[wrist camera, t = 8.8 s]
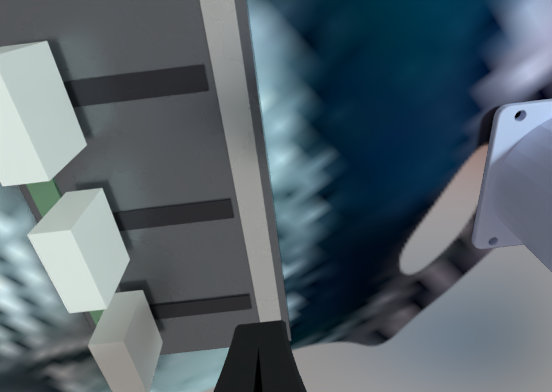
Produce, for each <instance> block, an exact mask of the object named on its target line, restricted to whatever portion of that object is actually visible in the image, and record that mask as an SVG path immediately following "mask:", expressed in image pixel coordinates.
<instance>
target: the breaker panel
mask: <svg viewBox="0 0 552 392" xmlns="http://www.w3.org/2000/svg"><path fill="white" fill-rule="evenodd" d="M42 41H47V42H48V45H49V47H50V50H51V52H52V55H53V58H54V60H55V63H56V65H57V68H58V71H59V73H60V76H61V79H62V81H63V84H64V86H65V89H66V92H67V94H68V97H69V99H70V102H71V105H72V107H73V110H74V112H75V115H76V118H77V120H78V123H79V125H80V128H81V131H82V133H83V136H84V138H85V141H86V144H87V146H86V147H85V148H83V149H82V150H81V151H80V152H79V153H78V154H77V155H76V156H75V157H74V158H73V159H72V160H71V161H70V162H69V163H68V164H67V165H66V166H65V167H64V168H63V169H62V170H60V171H59V172H58V173H57V174H56V175H55V176H54V177H53V178H52V179H51V180H50V181H45V182H37V183H28V184H20V185H19V187H20V189H21V191H22V193H23V195H24V197H25V199H26V201H27V203H28V205H29V207H30V209H31V211H32V213H33V214H34V216H35V218H36V220H37V222H38V223H39V221H40V220H41V219H42V218H43V217H44V216H45V215H46V214H47V213H48V212H49V210H50V209H51V208H52V207H53V206H54V205H55V204H56V203H57V202H58V201H59V199H60V198H61V197H62V196H63V195H64V194H65V193H66V192H72V191H81V190H89V189H98V188H103V191H104V194H105V196H106V199H107V201H108V204H109V207H110V209H111V212H112V214H113V217H114V220H115V222H116V225H117V227H118V230H119V233H120V235H121V238H122V240H123V243H124V246H125V248H126V251H127V253H128V256H129V258H130V261H129V263H128V265H127V267H126V269H125V271H124V274H123V276H122V278H121V280H120V282H119V284H118V287H117V289H116V291H115V293H119V292H128V291H137V290H143V292H144V295H145V297H146V300H147V302H148V305H149V308H150V310H151V313H152V315H153V318H154V321H155V323H156V326H157V328H158V331H159V334H160V336H161V339H162V342H163V343H162V347H161V351H160V355H163V354H172V353H181V352H190V351H199V350H209V349H218V348H227V347H230V345H231V342H232V338H233V334H234V330H235V328H236V327H237V326H238V325H240V324H249V323H258V322H267V321H276V320H283V321H284V322H286V327H287V334H288V339H289V341H291V332H290V321H289V314H288V306H287V298H286V291H285V283H284V276H283V268H282V261H281V253H280V246H279V238H278V230H277V223H276V215H275V208H274V200H273V193H272V185H271V178H270V170H269V162H268V155H267V147H266V140H265V132H264V125H263V117H262V110H261V102H260V94H259V87H258V79H257V72H256V64H255V57H254V49H253V42H252V34H251V26H250V19H249V11H248V4H247V0H0V47H3V46H10V45H18V44H26V43H34V42H42ZM103 311H104V309H103V310H94V311H85V312H83V313H84V315H85V317H86V319H87V321H88V323H89V325H90V326H91V328H92V330H93V332H94V331H95V328H96V326H97V324H98V322H99V320H100V318H101V316H102V314H103Z"/></svg>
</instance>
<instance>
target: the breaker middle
mask: <svg viewBox="0 0 552 392" xmlns="http://www.w3.org/2000/svg"><path fill="white" fill-rule="evenodd" d="M27 236H28V238H29V239H30V241H31V243H32V245H33V247H34V249H35V251H36V252H37V254H38V256H39V258H40V260H41V262H42V264H43V265H44V267H45V269H46V271H47V273H48V275H49V277H50V279H51V280H52V282H53V284H54V286H55V288H56V290H57V292H58V293H59V295H60V297H61V299H62V301H63V303H64V305H65V307H66V308H67V310H68V312H69V313H76V312H85V311H94V310H103V309H107V308H108V306H109V304H110V302H111V300H112V297H113V295H114V293H115V291H116V289H117V287H118V284H119V282H120V280H121V278H122V276H123V274H124V271H125V269H126V267H127V265H128V263H129V261H130V258H129V256H128V253H127V251H126V248H125V246H124V243H123V240H122V238H121V235H120V233H119V230H118V227H117V225H116V222H115V220H114V217H113V214H112V212H111V209H110V207H109V204H108V201H107V199H106V196H105V194H104V191H103V188H98V189H89V190H81V191H72V192H66V193H65V194H64V195H63V196H62V197H61V198H60V199H59V201H58V202H57V203H56V204H55V205H54V206H53V207H52V208H51V209H50V210H49V212H48V213H47V214H46V215H45V216H44V217H43V218H42V219H41V220H40V221H39V223H38V224H37V225H36V226H35V227H34V228H33V229H32V230H31V231H30V232H29V234H28V235H27Z"/></svg>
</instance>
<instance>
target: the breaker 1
mask: <svg viewBox="0 0 552 392" xmlns="http://www.w3.org/2000/svg"><path fill="white" fill-rule="evenodd" d="M86 146H87V144H86V141H85V138H84V136H83V133H82V131H81V128H80V125H79V123H78V120H77V118H76V115H75V112H74V110H73V107H72V105H71V102H70V99H69V97H68V94H67V92H66V89H65V86H64V84H63V81H62V79H61V76H60V73H59V71H58V68H57V65H56V63H55V60H54V58H53V55H52V52H51V50H50V47H49V45H48V42H47V41H42V42H34V43H26V44H18V45H10V46H3V47H0V182H1V184H2V186H11V185H20V184H28V183H37V182H45V181H50V180H51V179H52V178H53V177H54V176H55V175H56V174H57V173H58V172H59V171H60V170H62V169H63V168H64V167H65V166H66V165H67V164H68V163H69V162H70V161H71V160H72V159H73V158H74V157H75V156H76V155H77V154H78V153H79V152H80V151H81V150H82V149H83V148H85V147H86Z"/></svg>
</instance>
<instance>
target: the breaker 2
mask: <svg viewBox="0 0 552 392" xmlns="http://www.w3.org/2000/svg"><path fill="white" fill-rule="evenodd" d="M162 343H163V342H162V339H161V336H160V334H159V331H158V328H157V326H156V323H155V321H154V318H153V315H152V313H151V310H150V308H149V305H148V302H147V300H146V297H145V295H144V292H143V290H137V291H128V292H119V293H114V295H113V297H112V300H111V302H110V304H109V306H108V308H107V309H104V311H103V314H102V316H101V318H100V320H99V322H98V324H97V326H96V328H95V331H94V333H93V335H92V337H91V339H90V341H89V343H88V347H89V349H90V351H91V353H92V355H93V357H94V358H95V360H96V362H97V364H98V366H99V368H100V370H101V372H102V373H103V375H104V377H105V379H106V381H107V383H108V385H109V387H110V388H111V390H112V392H150V389H151V385H152V381H153V377H154V373H155V370H156V366H157V362H158V358H159V355H160V351H161V347H162Z"/></svg>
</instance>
